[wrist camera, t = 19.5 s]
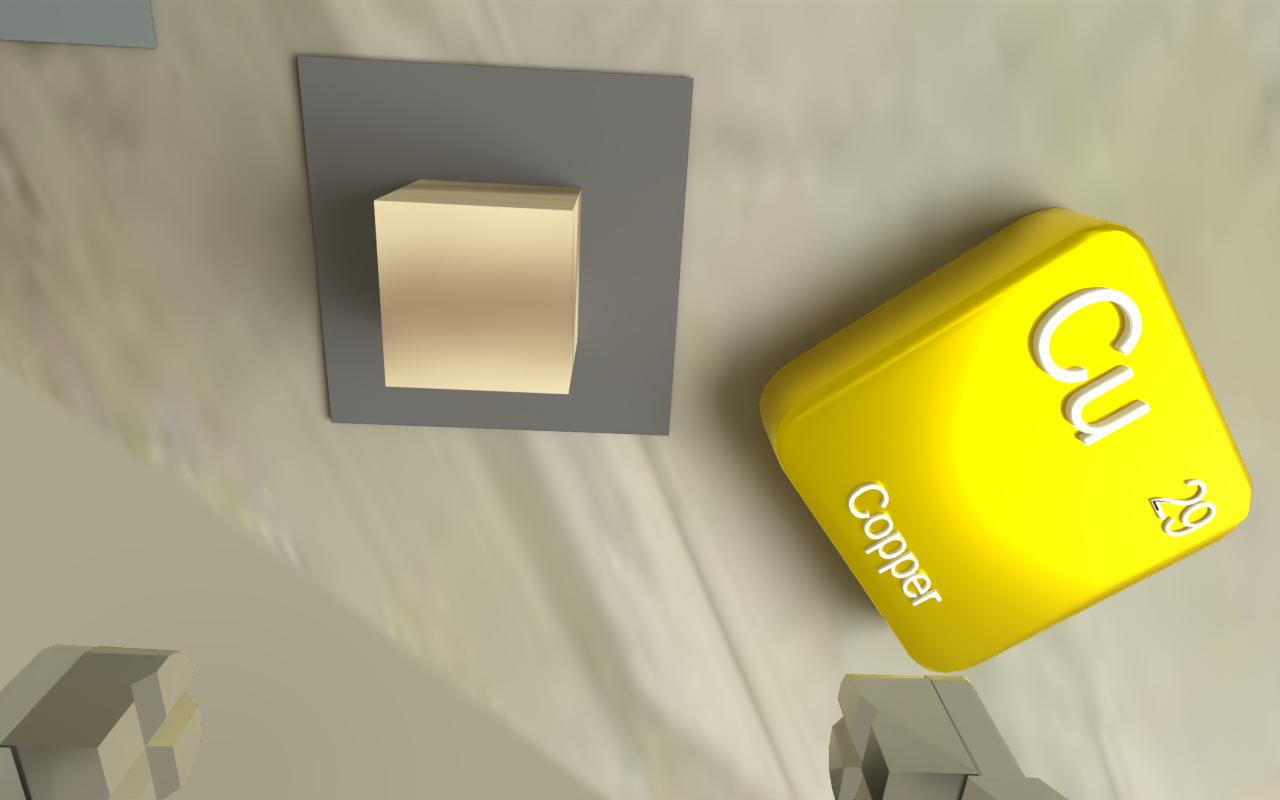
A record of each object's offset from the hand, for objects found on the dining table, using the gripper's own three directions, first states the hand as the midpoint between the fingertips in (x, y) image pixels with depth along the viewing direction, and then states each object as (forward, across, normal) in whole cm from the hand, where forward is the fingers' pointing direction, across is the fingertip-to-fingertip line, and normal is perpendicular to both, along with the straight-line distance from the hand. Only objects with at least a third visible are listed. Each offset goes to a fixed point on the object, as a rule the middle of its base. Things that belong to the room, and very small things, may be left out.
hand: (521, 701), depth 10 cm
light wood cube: (+23, +3, 0) cm, 23 cm away
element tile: (+24, -17, +6) cm, 30 cm away
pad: (+23, +4, 0) cm, 24 cm away
